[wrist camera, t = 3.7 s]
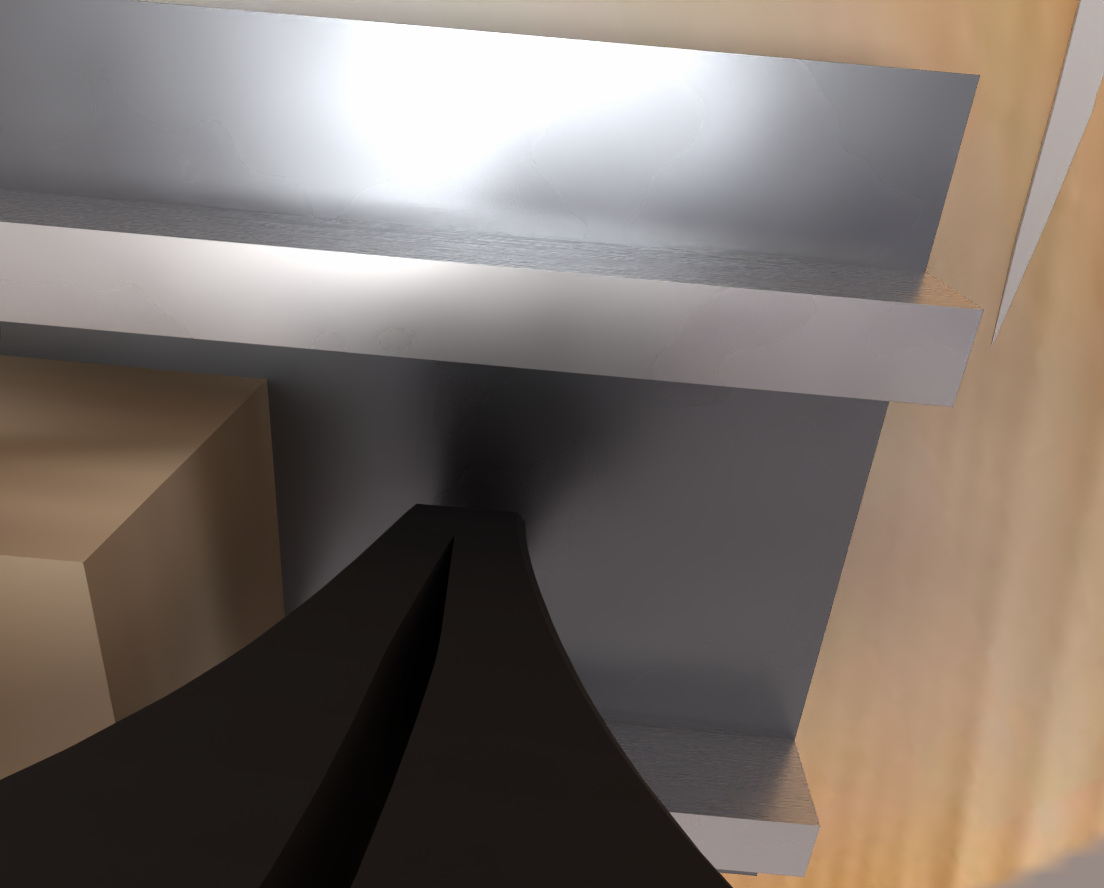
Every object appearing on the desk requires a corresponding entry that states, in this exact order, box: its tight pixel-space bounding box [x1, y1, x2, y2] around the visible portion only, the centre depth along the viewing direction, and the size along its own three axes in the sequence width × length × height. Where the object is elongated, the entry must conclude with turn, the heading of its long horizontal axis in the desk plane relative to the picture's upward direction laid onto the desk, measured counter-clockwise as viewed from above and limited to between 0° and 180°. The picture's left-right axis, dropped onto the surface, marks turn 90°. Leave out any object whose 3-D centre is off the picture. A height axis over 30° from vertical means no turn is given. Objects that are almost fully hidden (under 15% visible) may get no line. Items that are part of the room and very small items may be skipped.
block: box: [0, 355, 285, 780], centre depth 9 cm, size 4×4×4 cm
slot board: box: [0, 0, 983, 877], centre depth 12 cm, size 16×12×4 cm
